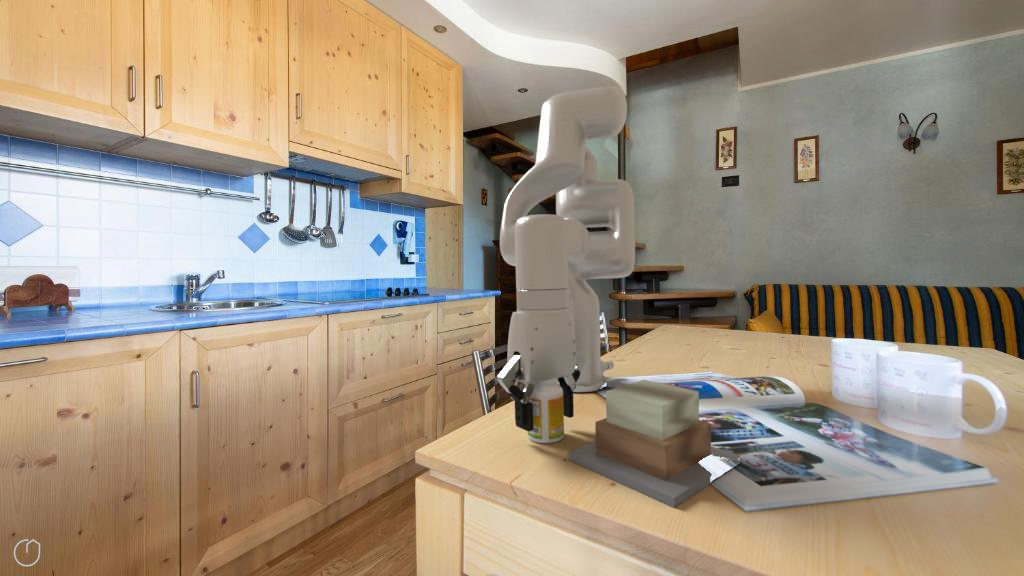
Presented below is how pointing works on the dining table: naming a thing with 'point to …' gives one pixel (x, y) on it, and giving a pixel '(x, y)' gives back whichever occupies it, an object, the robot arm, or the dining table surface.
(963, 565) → the dining table surface
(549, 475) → the dining table surface
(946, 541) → the dining table surface
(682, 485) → the baseplate
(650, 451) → the two-tone block stack
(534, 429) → the supplement bottle
